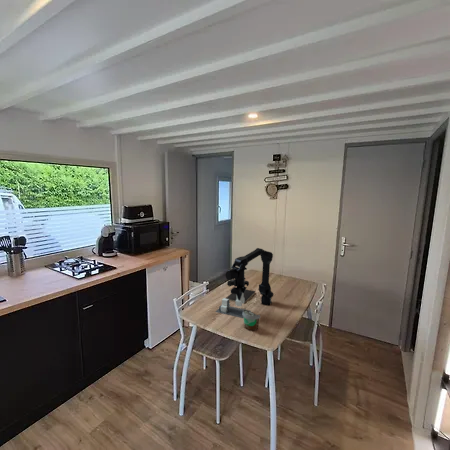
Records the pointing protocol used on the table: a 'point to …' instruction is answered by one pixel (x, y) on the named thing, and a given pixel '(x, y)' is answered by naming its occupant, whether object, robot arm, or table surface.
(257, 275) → the table surface
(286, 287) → the table surface
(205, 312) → the table surface
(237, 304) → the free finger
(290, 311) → the table surface
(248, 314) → the food container
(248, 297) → the hardcover book
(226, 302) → the block
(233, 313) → the rail
